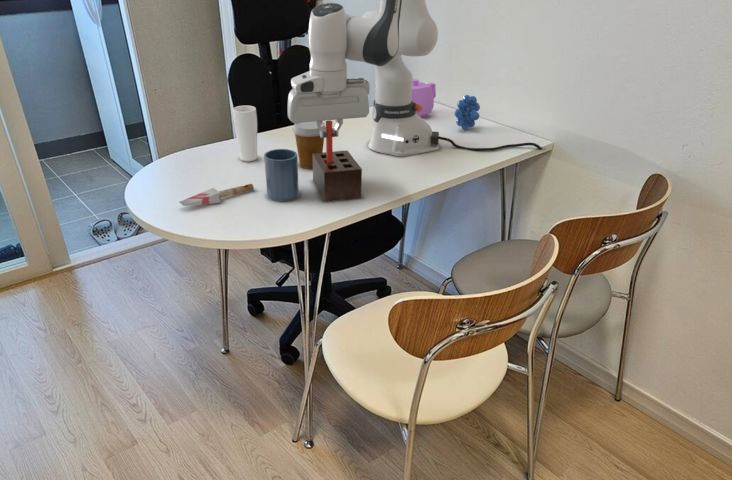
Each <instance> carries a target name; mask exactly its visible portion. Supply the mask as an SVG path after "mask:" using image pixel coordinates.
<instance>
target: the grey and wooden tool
mask: <svg viewBox="0 0 732 480" xmlns="http://www.w3.org/2000/svg"><path fill="white" fill-rule="evenodd" d="M254 189H255V188H254V184H253V183H248V184H245V185H240V186H236V187H231V188H227V189H223V190H217V189H216V188H215V187H212V188H210V189H207V190H205V191H202V192H200V193H197V194H195V195H192V196H190V197H187V198H185V199H183V200H180V201H179V202H178V203H179V204H181V205H182V206H183V207H187V206H188V207H189V206H200V205H201V206H202V205H210V204H211V205H213V204H221V203H222V201H221V199H223V198H227V197H232V196H235V195H239V194H244V193H246V192H251V191H254Z"/></svg>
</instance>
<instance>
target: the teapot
mask: <svg viewBox="0 0 732 480" xmlns="http://www.w3.org/2000/svg"><path fill="white" fill-rule="evenodd" d="M436 89H437V88H436V83H434V82H429V83H425V82H422V81H419V79H417V78H413V83H412V97H411V101H413V102H414V103H416V104H419V105H420V106H421V107H422V110H420V111H421V112H417V111H416V114H417V115H418V116H420V117H421V118H428V115H427V114H431V113H432V112H433V109H434V107H435V101H434V100H435V99H436V96H437V92H436V91H437V90H436Z"/></svg>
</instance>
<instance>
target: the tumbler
mask: <svg viewBox="0 0 732 480" xmlns="http://www.w3.org/2000/svg"><path fill="white" fill-rule="evenodd" d="M263 160H264V162H263V164H264V173H265V174H264V175H265V185H266V186H265V188H266V189H265V190H266V196H267V198H268V199H269V200H271V201H275V202H281V203H283V202H291V201H293V200H295V199H297V198H298V197H299V192H300V190H299V189H300V188H299V187H300V186H299V165H298V162H299V160H298V152H296V151H294V150H292V149H288V148H275V149H271V150H268V151H266V152H265V153H264V154H263Z"/></svg>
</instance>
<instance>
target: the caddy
mask: <svg viewBox="0 0 732 480" xmlns="http://www.w3.org/2000/svg"><path fill="white" fill-rule="evenodd" d="M312 157H313V168H312V182H313V184H314V186H315V187H316V189H317V191H318V193H319V195H320V197H321V198H322V200H323V201H324V203H328V202H329V203H330V202H337V201H347V200H355V199H356V200H357V199H362V185H363V184H362V181H363V178H362V177H363V168H362V167H361V166H360V164H359V163H358V162H357V161H356V159H355V158H354V156H352V155H351V153H350V152H349V150H338V151H335V150H334V151H333V163H326V151H325V152H323V153H313V154H312Z"/></svg>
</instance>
